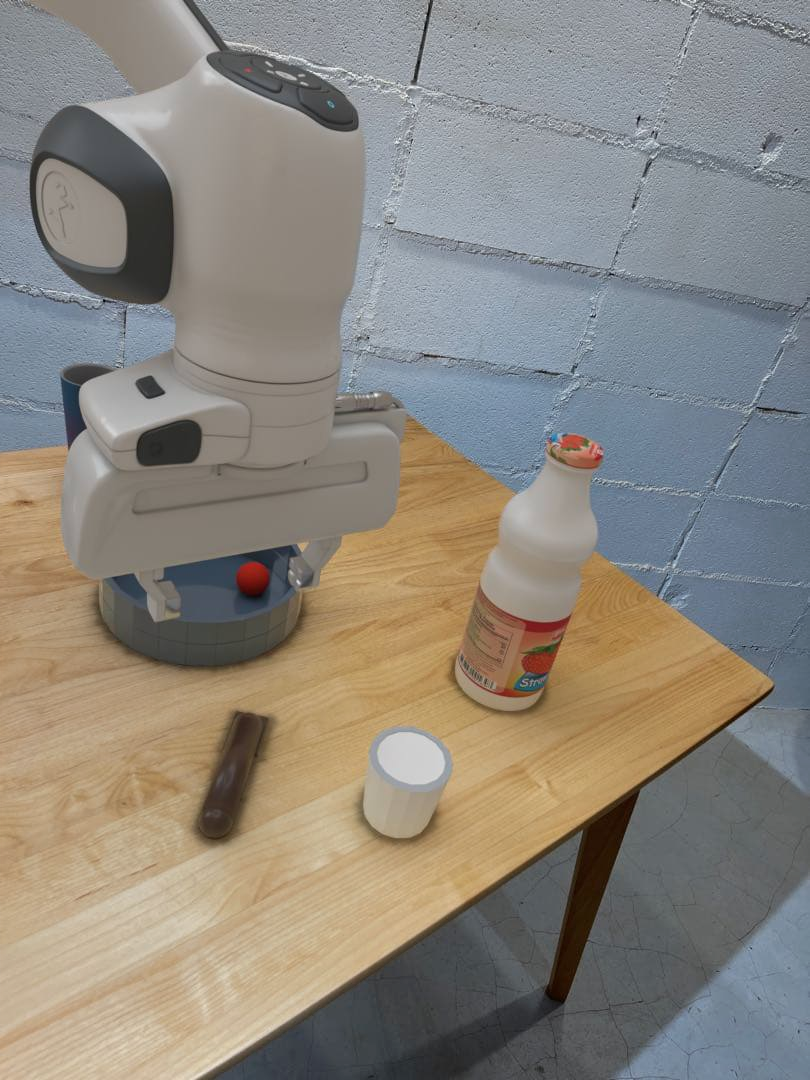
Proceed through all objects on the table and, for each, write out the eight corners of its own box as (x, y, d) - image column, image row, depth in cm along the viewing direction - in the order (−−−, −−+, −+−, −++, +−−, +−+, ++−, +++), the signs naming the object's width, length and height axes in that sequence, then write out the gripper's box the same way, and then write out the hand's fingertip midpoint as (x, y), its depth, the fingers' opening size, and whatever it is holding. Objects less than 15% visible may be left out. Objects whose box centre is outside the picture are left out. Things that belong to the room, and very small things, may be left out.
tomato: (230, 598, 87) (233, 571, 85) (239, 579, 90) (242, 552, 88) (264, 604, 87) (267, 578, 85) (271, 585, 90) (274, 559, 89)
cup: (52, 491, 99) (47, 376, 91) (84, 468, 104) (82, 358, 96) (104, 507, 98) (103, 392, 90) (133, 483, 104) (134, 373, 96)
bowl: (65, 646, 78) (63, 596, 74) (141, 534, 95) (142, 490, 92) (276, 688, 78) (283, 640, 75) (313, 570, 95) (320, 527, 92)
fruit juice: (466, 641, 90) (535, 410, 75) (548, 672, 88) (635, 441, 73) (441, 693, 82) (513, 447, 67) (530, 728, 80) (624, 483, 65)
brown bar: (229, 848, 63) (232, 826, 61) (191, 841, 63) (192, 819, 61) (268, 724, 74) (271, 704, 73) (235, 718, 74) (237, 697, 73)
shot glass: (338, 805, 68) (351, 748, 64) (396, 768, 73) (411, 712, 69) (394, 863, 64) (411, 806, 61) (451, 821, 69) (470, 765, 65)
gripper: (384, 368, 52) (352, 545, 60) (46, 387, 41) (57, 601, 49) (439, 411, 48) (397, 595, 56) (79, 444, 37) (86, 668, 45)
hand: (236, 598), depth 52 cm, fingers open, 8 cm apart
